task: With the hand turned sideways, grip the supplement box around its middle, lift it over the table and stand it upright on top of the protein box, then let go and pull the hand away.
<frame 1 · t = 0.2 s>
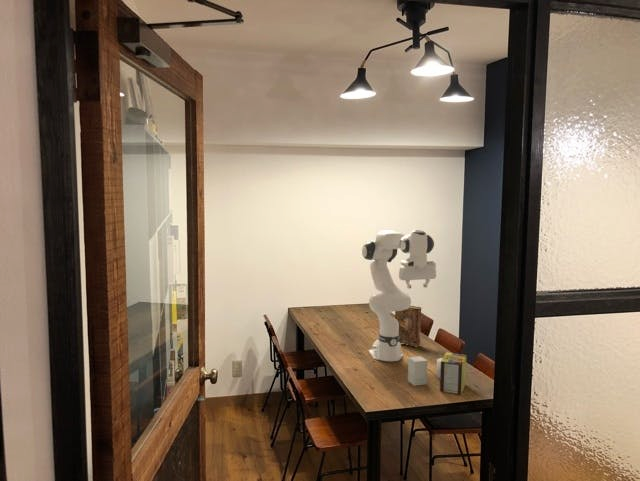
hand: (417, 287, 254), 48 cm above the table, tool pointing down, fingers open, 8 cm apart
supplement box: (416, 383, 250), on the table
book: (407, 344, 315), on the table
off-white mug: (444, 377, 258), on the table
protein box: (452, 388, 244), on the table
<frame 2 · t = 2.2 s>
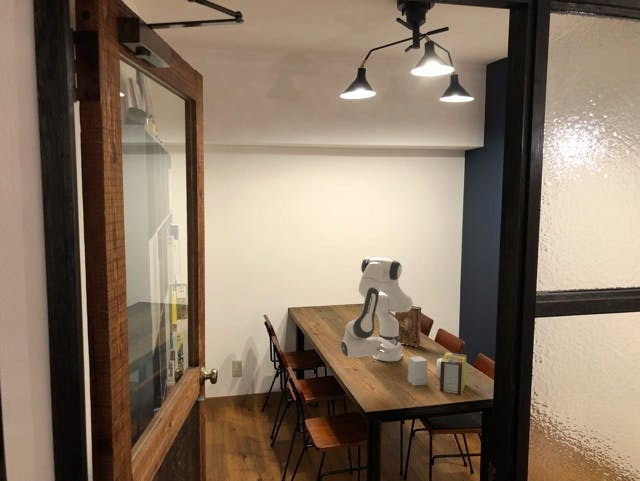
hand: (398, 344, 244), 21 cm above the table, tool horizontal, fingers open, 8 cm apart
nothing on the table moved.
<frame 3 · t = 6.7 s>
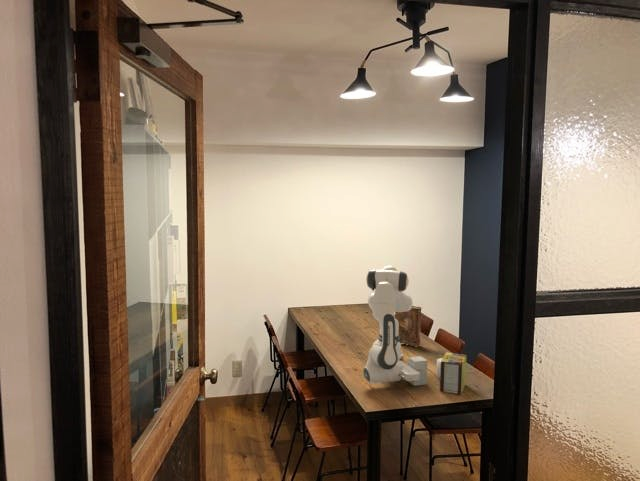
hand: (419, 369, 249), 7 cm above the table, tool horizontal, fingers closed on supplement box, 7 cm apart
supplement box: (417, 382, 250), on the table, touching gripper
everything else where it was.
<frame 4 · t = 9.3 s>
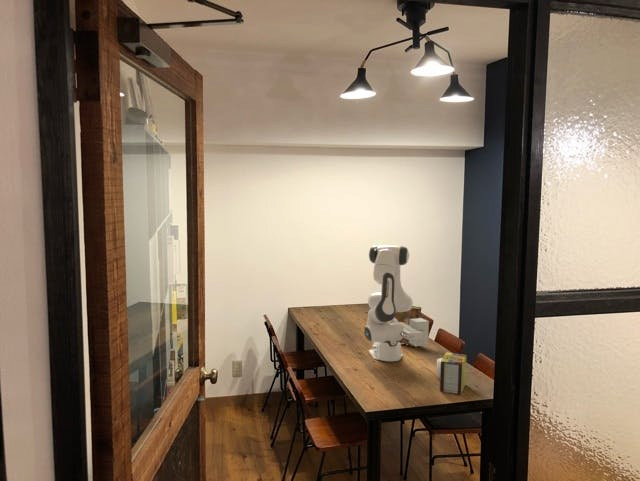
hand: (420, 329, 247), 28 cm above the table, tool horizontal, fingers closed on supplement box, 7 cm apart
supplement box: (418, 344, 248), point 20 cm above the table, touching gripper
everything else where it was.
when the fingers open (24 cm above the table, at t = 12.3 s): supplement box drops 1 cm, resting on protein box.
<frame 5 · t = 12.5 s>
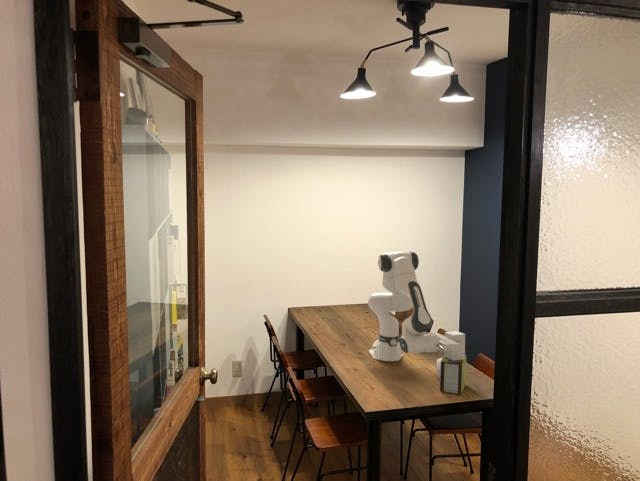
hand: (456, 340, 242), 24 cm above the table, tool horizontal, fingers open, 8 cm apart
supplement box: (454, 358, 242), point 15 cm above the table, touching gripper, protein box
protein box: (452, 388, 244), on the table, touching supplement box
everything else where it was.
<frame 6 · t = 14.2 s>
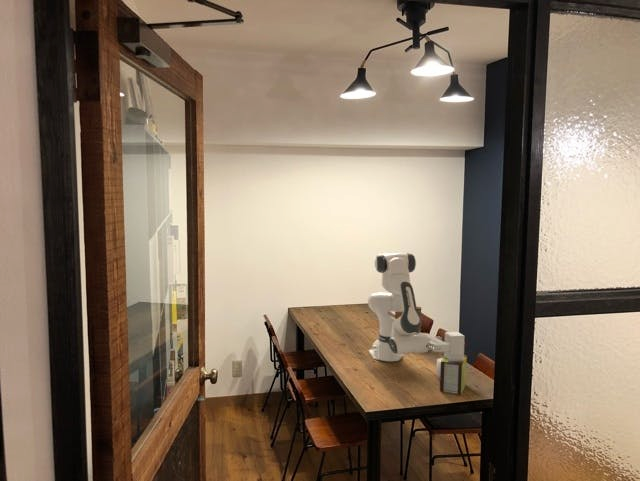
hand: (446, 341, 240), 24 cm above the table, tool horizontal, fingers open, 8 cm apart
supplement box: (453, 359, 241), point 15 cm above the table, touching protein box
everything else where it was.
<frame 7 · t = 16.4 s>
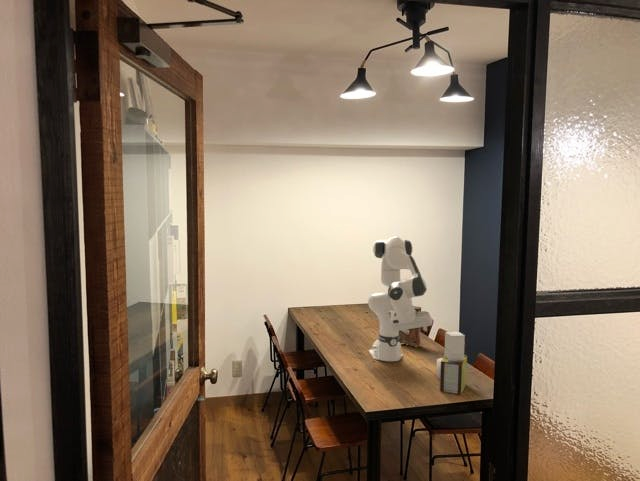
hand: (416, 331, 246), 27 cm above the table, tool tilted 40°, fingers open, 8 cm apart
nothing on the table moved.
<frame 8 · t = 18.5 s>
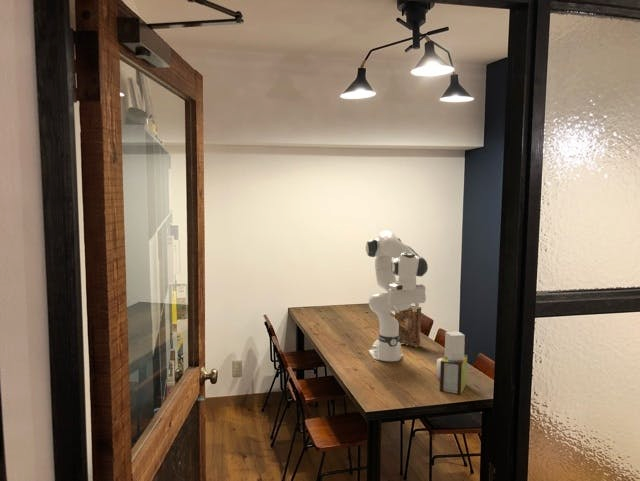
hand: (406, 312, 245), 37 cm above the table, tool pointing down, fingers open, 8 cm apart
nothing on the table moved.
at the end: supplement box inside the target area on the protein box (0.8 cm from its centre), point 15.5 cm above the protein box's base; supplement box tilted 0°; the gripper is holding nothing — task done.
